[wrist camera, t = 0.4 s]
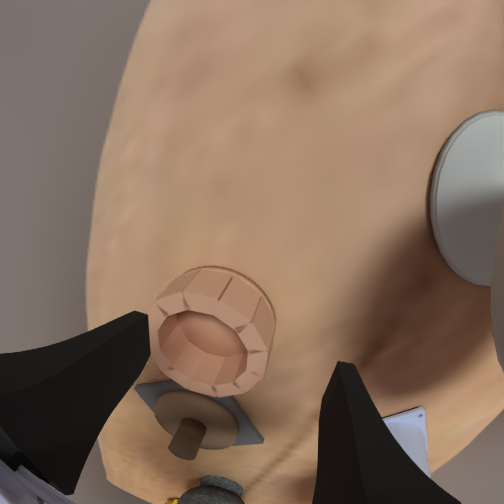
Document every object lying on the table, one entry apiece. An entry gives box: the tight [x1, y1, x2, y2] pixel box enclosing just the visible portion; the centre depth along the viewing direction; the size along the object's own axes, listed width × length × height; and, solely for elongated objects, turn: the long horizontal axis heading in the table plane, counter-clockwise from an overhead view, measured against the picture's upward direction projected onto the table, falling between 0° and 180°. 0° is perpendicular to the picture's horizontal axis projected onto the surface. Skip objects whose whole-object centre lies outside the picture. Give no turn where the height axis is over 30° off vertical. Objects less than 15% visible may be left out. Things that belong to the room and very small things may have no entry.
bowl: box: [146, 266, 276, 397], centre depth 20 cm, size 8×8×4 cm
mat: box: [134, 380, 264, 446], centre depth 27 cm, size 10×10×1 cm
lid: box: [154, 390, 239, 460], centre depth 25 cm, size 9×9×4 cm
